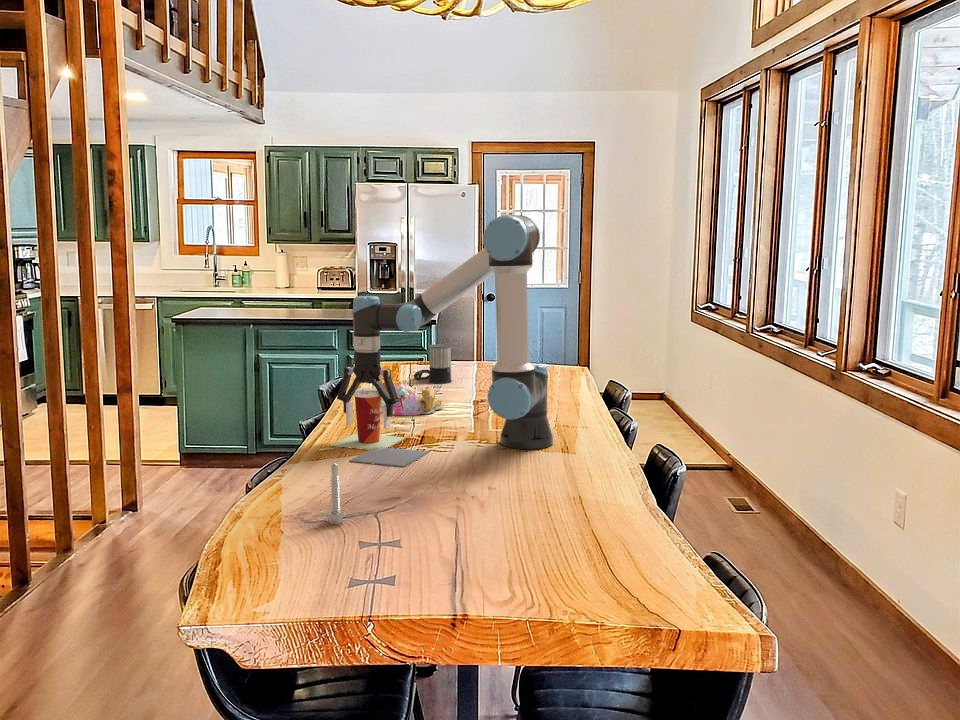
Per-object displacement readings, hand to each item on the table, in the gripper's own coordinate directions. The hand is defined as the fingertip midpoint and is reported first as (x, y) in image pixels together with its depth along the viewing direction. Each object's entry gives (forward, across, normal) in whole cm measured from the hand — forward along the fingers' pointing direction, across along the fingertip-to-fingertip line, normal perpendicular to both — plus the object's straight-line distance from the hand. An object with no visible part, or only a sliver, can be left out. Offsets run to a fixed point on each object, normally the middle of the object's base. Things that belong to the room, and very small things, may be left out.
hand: (368, 425), depth 259 cm
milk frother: (+5, -24, +103) cm, 106 cm away
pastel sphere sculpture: (+5, -10, +48) cm, 49 cm away
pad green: (+5, 0, 0) cm, 5 cm away
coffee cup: (+5, 0, 0) cm, 5 cm away
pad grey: (+5, +13, -13) cm, 19 cm away
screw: (+5, +26, -66) cm, 71 cm away
